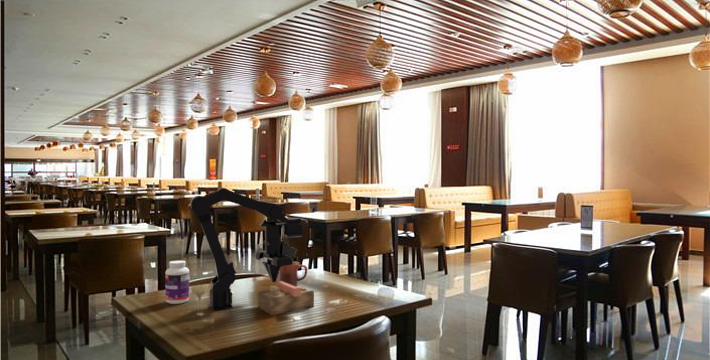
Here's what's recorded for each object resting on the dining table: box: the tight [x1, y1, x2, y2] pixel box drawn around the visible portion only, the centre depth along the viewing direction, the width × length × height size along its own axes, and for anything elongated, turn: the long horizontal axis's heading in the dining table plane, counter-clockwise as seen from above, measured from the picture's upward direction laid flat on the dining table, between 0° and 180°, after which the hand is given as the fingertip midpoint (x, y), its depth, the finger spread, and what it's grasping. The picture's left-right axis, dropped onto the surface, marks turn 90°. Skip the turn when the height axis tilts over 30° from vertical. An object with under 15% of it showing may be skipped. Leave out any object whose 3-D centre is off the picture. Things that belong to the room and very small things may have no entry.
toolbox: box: [257, 284, 315, 316], centre depth 165 cm, size 16×10×6 cm, turn 125°
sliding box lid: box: [265, 285, 310, 297], centre depth 165 cm, size 14×7×3 cm, turn 125°
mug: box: [278, 260, 308, 286], centre depth 191 cm, size 12×9×10 cm
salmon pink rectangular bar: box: [276, 280, 302, 297], centre depth 163 cm, size 2×14×3 cm, turn 35°
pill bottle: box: [164, 260, 190, 305], centre depth 173 cm, size 8×8×14 cm
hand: (273, 281), depth 172 cm, fingers closed
